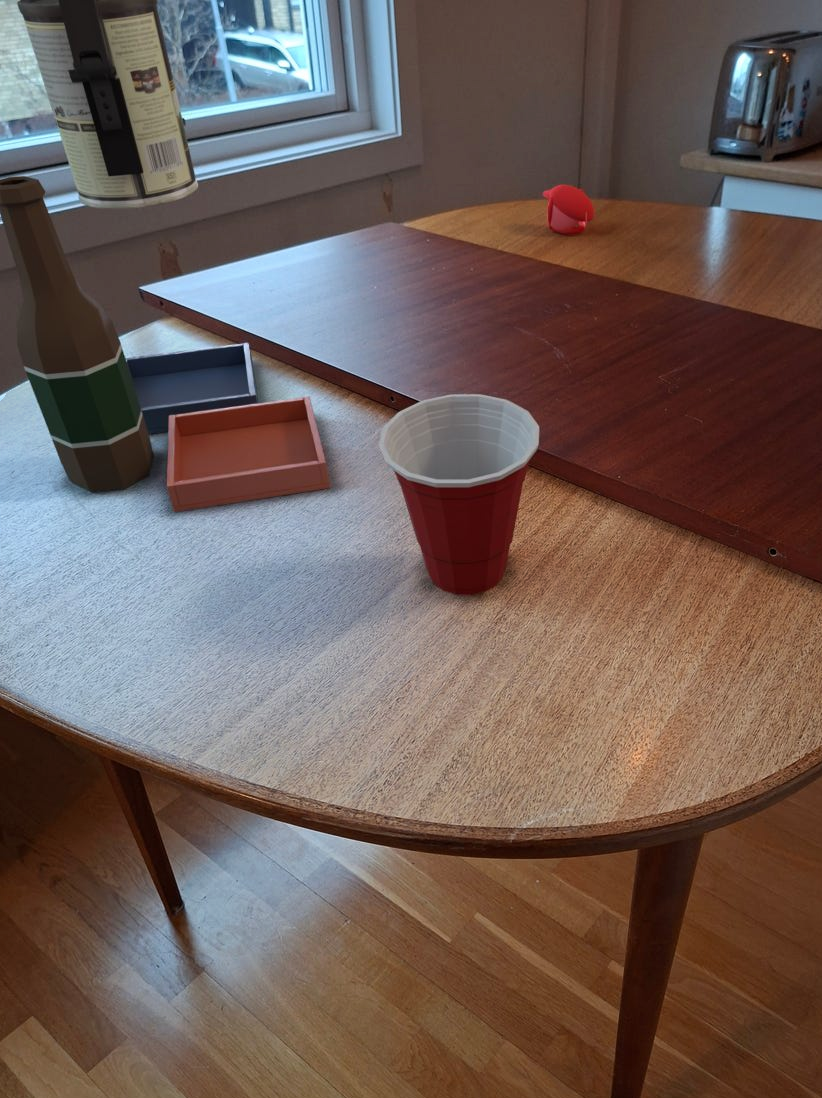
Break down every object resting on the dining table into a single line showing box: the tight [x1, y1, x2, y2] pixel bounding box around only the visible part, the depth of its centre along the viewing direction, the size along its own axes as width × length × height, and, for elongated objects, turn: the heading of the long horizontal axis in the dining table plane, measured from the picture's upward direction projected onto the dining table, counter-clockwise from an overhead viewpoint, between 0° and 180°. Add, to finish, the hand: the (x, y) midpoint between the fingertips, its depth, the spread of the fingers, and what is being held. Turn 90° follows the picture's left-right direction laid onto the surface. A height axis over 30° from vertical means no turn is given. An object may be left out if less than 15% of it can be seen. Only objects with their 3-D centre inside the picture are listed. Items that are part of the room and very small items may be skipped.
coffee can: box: [16, 0, 199, 210], centre depth 72 cm, size 10×10×14 cm
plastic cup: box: [378, 393, 540, 596], centre depth 62 cm, size 11×11×12 cm
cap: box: [542, 184, 595, 235], centre depth 126 cm, size 8×6×6 cm
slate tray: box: [125, 342, 260, 435], centre depth 89 cm, size 13×13×2 cm
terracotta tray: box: [166, 395, 331, 513], centre depth 79 cm, size 13×13×2 cm
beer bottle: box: [0, 175, 155, 493], centre depth 71 cm, size 8×8×24 cm
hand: (129, 158), depth 75 cm, fingers closed on coffee can, 10 cm apart
